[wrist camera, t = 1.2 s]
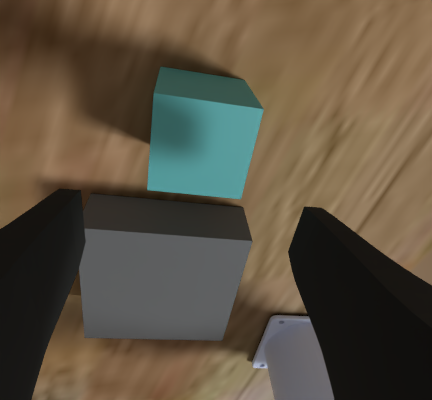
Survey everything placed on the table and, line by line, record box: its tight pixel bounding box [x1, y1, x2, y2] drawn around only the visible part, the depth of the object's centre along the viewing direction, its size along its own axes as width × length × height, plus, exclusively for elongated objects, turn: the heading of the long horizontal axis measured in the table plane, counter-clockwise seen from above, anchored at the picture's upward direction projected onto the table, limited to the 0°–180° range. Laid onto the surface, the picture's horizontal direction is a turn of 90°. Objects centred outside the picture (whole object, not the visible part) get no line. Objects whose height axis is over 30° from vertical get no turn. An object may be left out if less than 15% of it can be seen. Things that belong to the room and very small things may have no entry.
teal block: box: [147, 67, 264, 199], centre depth 16 cm, size 4×4×5 cm
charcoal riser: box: [79, 193, 252, 341], centre depth 22 cm, size 10×10×4 cm
